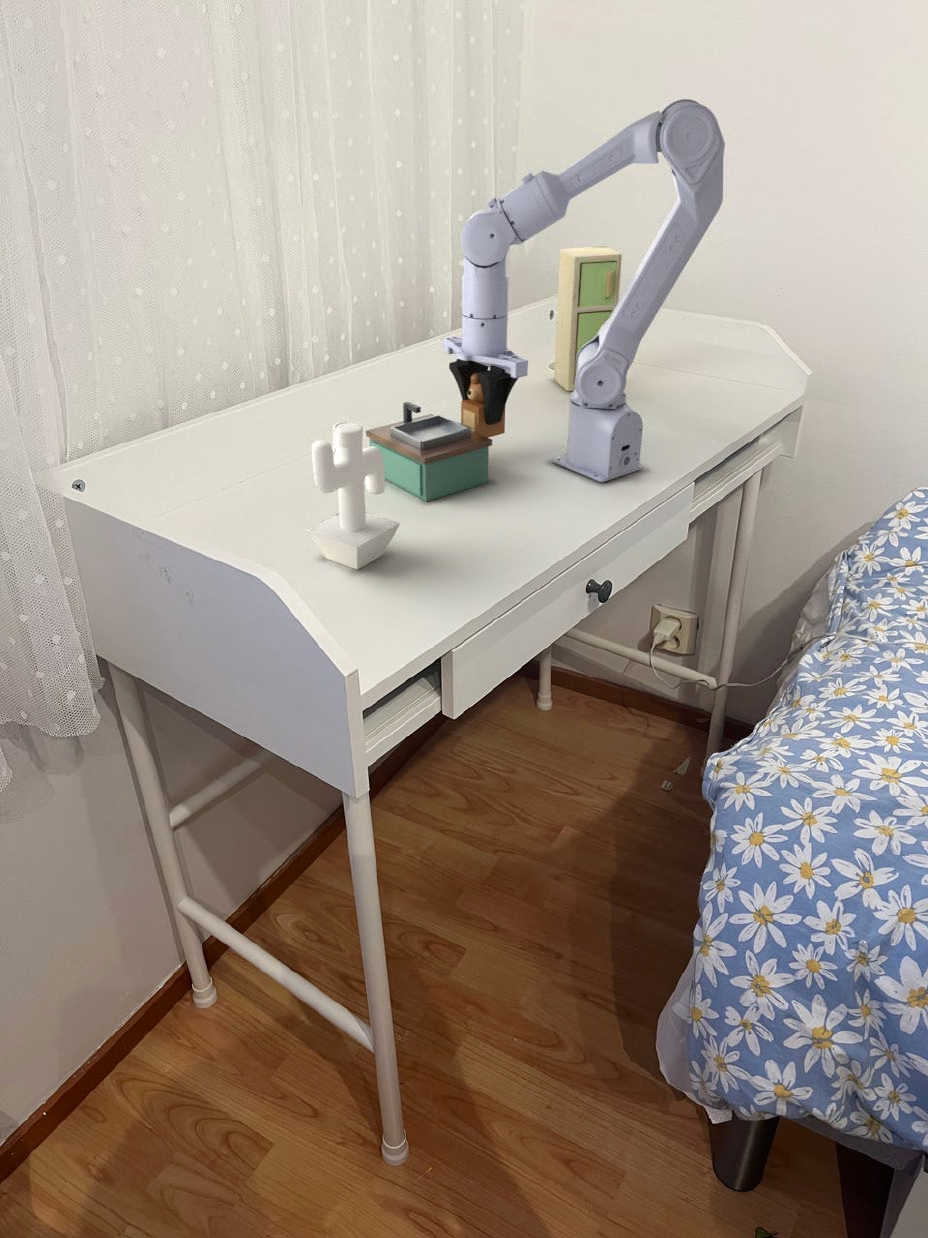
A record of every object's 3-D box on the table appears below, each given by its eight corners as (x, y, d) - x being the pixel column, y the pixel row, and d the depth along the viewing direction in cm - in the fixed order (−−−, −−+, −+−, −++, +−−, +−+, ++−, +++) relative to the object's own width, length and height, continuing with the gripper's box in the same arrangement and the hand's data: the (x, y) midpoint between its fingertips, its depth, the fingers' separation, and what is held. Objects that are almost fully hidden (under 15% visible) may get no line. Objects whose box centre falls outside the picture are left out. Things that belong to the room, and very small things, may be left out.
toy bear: (504, 433, 130) (506, 371, 125) (475, 441, 127) (476, 378, 123) (487, 425, 132) (488, 365, 128) (458, 433, 129) (458, 372, 125)
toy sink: (491, 482, 125) (492, 415, 120) (421, 504, 119) (419, 435, 114) (432, 454, 133) (431, 391, 129) (363, 473, 127) (360, 408, 123)
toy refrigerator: (568, 393, 157) (576, 256, 146) (552, 380, 163) (559, 247, 152) (614, 389, 159) (625, 254, 148) (596, 376, 165) (606, 245, 154)
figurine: (407, 549, 108) (404, 419, 100) (351, 582, 101) (343, 445, 94) (358, 533, 112) (351, 406, 104) (300, 563, 105) (288, 430, 97)
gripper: (424, 307, 124) (426, 410, 131) (498, 330, 115) (495, 440, 122) (467, 299, 128) (466, 400, 135) (542, 321, 119) (537, 428, 125)
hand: (483, 418), depth 129 cm, fingers closed on toy bear, 3 cm apart
